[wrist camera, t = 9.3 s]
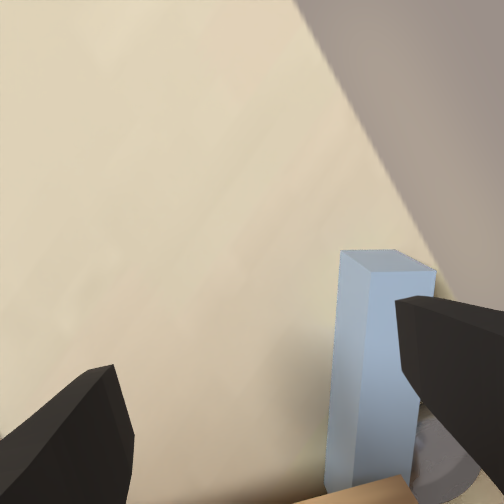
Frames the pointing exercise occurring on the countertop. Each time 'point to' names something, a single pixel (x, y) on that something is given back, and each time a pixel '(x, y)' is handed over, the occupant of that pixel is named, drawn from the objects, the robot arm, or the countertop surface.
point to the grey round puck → (439, 462)
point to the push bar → (371, 370)
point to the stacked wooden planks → (370, 494)
